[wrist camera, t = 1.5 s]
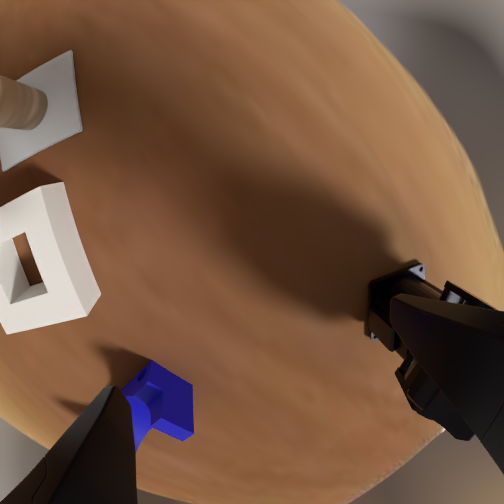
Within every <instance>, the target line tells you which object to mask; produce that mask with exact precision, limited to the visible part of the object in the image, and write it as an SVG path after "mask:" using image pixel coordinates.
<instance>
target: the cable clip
mask: <svg viewBox="0 0 504 504" xmlns="http://www.w3.org/2000/svg"><path fill="white" fill-rule="evenodd" d="M121 391H122V393H123V394H124V396H125V397H126V398H127V400H128V401H129V403H130V405H131V409H132V420H133V431H134V440H135V453H136V451H137V449H138V446H139V445H140V443H141V441H142V439H143V438H144V436H145V435H146V434H147V432H148V431H149V430H150V429H151V428H152V427H153V428H155V429H157V430H159V431H161V432H163V433H166V434H168V435H170V436H172V437H174V438H176V439H179V440H181V441H184V440H185V439H187V438H188V437H190V436H191V435H193V434H194V422H193V388H192V385H191V384H190V383H188V382H186V381H185V380H183V379H181V378H180V377H178V376H176V375H175V374H173V373H171V372H170V371H168V370H167V369H165V368H163V367H162V366H160V365H159V364H157V363H156V362H154V361H153V360H151V361H150V362H149V363H148V364H147V365H146V366H145V367H144V368H143V369H142V370H141V371H140V372H139V373H138V374H137V375H136V376H135V377H134V378H133V379H132V380H131V381H130V382H129V383H128V384H127V385H126V386H125V387H124V388H123V389H122V390H121Z"/></svg>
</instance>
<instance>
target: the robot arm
mask: <svg viewBox="0 0 504 504" xmlns="http://www.w3.org/2000/svg"><path fill="white" fill-rule="evenodd" d="M419 269H420V270H419ZM424 277H425V266H424V265H423V264H421V263H418V264H415V265H413V266H410V267H408V268H405V269H402V270H400V271H397V272H395V273H392V274H389V275H387V276H384V277H381V278H379V279H376V280H373V281H371V282H370V284H369V306H368V329H369V337H370V339H371V340H372V341H376V340H378V339H379V340H380V341H381V342H382V343H383V344H384V345H385V347H386V348H387V349H388V350H389V351H391V352H393V351H396V352H397V353H398V354H399V355H400V356H401V357H402V358H403V359H404V361H403V363H402V364H401V366H400V367H398V368H397V370H396V371H395V375H396V377H397V379H398V381H399V383H400V385H401V387H402V389H403V392H404V394H405V396H406V398H407V400H408V402H409V404H410V406H411V408H412V409H413V410H414V411H416V412H417V413H418V414H419V415H422V416H423V417H425V418H427V419H430V420H434V421H436V422H437V423H438V424H440V425H441V426H442V427H444V428H445V429H446V430H447V431H448V432H449V433H450V434H451V435H452V436H454V438H456V439H459V440H465V441H469V440H471V439H472V438H473V437H474V435H476V436H477V437H478V439H479V440H480V442H481V443H482V444H483V446H484V447H485V448H486V450H487V451H488V453H489V454H490V456H491V457H492V458H493V460H494V461H495V463H496V464H497V466H498V467H499V468H500V470H501V471H502V473H503V474H504V311H499V310H497V309H496V308H494V307H493V306H491V305H490V304H488V303H486V302H485V301H483V300H481V299H480V298H478V297H476V296H475V295H473V294H471V293H469V292H468V291H466V290H464V289H462V288H460V287H458V286H457V285H455V284H453V283H451V282H449V281H446V283H445V286H444V287H445V288H444V290H443V291H442V290H440V289H439V288H437V287H435V286H434V285H432V284H430V283H429V282H427V281H425V280H424ZM374 285H375V287H374ZM373 287H374V288H373ZM374 335H375V336H374ZM0 504H138V503H137V487H136V454H135V440H134V431H133V420H132V409H131V405H130V403H129V401H128V400H127V398H126V397H125V396H124V394H123V393H122V391H121V390H120V389H119V387H117V386H115V385H114V386H108V387H105V388H104V389H103V390H102V391H101V392H100V393H99V394H98V395H97V396H96V398H95V399H94V400H93V401H92V402H91V403H90V404H89V405H88V407H87V408H86V409H85V410H84V411H83V412H82V413H81V415H80V416H79V417H78V418H77V419H76V420H75V421H74V423H73V424H72V425H71V426H70V427H69V428H68V429H67V431H66V432H65V433H64V434H63V435H62V436H61V437H60V439H59V440H58V441H57V442H56V443H55V444H54V446H53V447H52V448H51V449H50V450H49V451H48V453H47V454H46V455H45V457H43V458H42V460H41V461H40V462H39V463H38V464H37V465H36V467H35V468H34V469H33V470H32V471H31V472H30V473H29V474H28V475H27V476H26V477H25V478H24V479H23V481H21V482H20V483H19V485H17V486H16V488H14V489H13V490H12V491H11V492H10V493H9V494H8V495H7V496H6V497H5V498H4V499H3V500H2V501H1V502H0Z"/></svg>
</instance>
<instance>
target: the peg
mask: <svg viewBox="0 0 504 504" xmlns="http://www.w3.org/2000/svg"><path fill="white" fill-rule="evenodd" d="M47 107H48V100H47V96H46V94H45V93H44V92H43V91H41V90H38V89H36V88H33V87H31V86H28V85H26V84H23V83H20V82H18V81H15V80H13V79H10V78H7V77H4V76H2V75H0V127H2V128H11V129H19V130H32V129H34V128H35V127H37V126H38V125H39V124H40V123H41V121H42V120H43V118H44V116H45V114H46V111H47Z"/></svg>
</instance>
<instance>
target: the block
mask: <svg viewBox="0 0 504 504" xmlns="http://www.w3.org/2000/svg"><path fill="white" fill-rule="evenodd" d="M24 232H25V233H26V236H27V239H28V242H29V245H30V248H31V251H32V253H33V256H34V259H35V262H36V264H37V267H38V269H39V272H40V274H41V277H42V279H43V282H42V283H39V284H36V285H33V286H30V285H29V282H28V280H27V277H26V275H25V272H24V270H23V267H22V265H21V262H20V259H19V257H18V254H17V251H16V248H15V245H14V242H13V239H12V238H13V237H15V236H17V235H19V234H21V233H24ZM100 295H101V292H100V290H99V288H98V285H97V283H96V280H95V278H94V275H93V273H92V270H91V268H90V265H89V262H88V260H87V257H86V254H85V251H84V249H83V246H82V243H81V240H80V237H79V234H78V231H77V228H76V225H75V222H74V218H73V215H72V212H71V208H70V205H69V201H68V197H67V194H66V190H65V186H64V182H59V183H54V184H49V185H43V186H39V187H37V188H35V189H33V190H31V191H29V192H28V193H26V194H24V195H22V196H20V197H18V198H16V199H14V200H13V201H11V202H9V203H7V204H5V205H4V206H2V207H0V322H1V324H2V326H3V328H4V330H5V332H6V334H11V333H16V332H20V331H25V330H29V329H34V328H38V327H43V326H47V325H51V324H56V323H60V322H64V321H68V320H73V319H77V318H81V317H85V316H87V315H88V314H89V312H90V311H91V309H92V307H93V306H94V304H95V303H96V301H97V300H98V298H99V297H100Z"/></svg>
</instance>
